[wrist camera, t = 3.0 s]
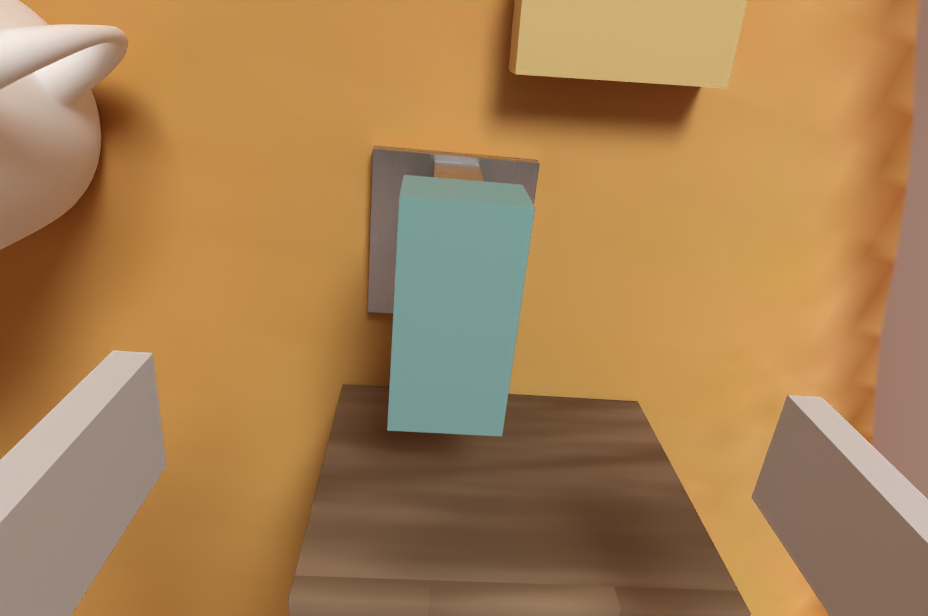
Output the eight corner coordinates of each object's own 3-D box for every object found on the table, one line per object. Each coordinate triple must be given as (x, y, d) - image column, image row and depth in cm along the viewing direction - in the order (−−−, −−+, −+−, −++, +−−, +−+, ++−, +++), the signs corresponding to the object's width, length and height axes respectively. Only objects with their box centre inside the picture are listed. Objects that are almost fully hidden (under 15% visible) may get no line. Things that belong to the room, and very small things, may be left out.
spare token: (507, 69, 22) (515, 74, 20) (517, -40, 21) (526, -48, 19) (699, 82, 23) (727, 88, 20) (721, -24, 21) (754, -30, 19)
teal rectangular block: (404, 174, 18) (399, 196, 15) (523, 185, 18) (535, 207, 16) (392, 386, 21) (387, 430, 18) (495, 393, 21) (502, 436, 19)
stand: (374, 146, 23) (357, 181, 18) (537, 159, 23) (565, 198, 18) (369, 305, 25) (352, 376, 20) (515, 315, 26) (534, 387, 21)
